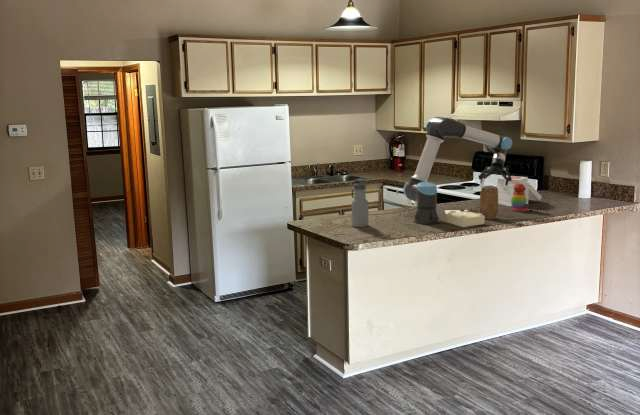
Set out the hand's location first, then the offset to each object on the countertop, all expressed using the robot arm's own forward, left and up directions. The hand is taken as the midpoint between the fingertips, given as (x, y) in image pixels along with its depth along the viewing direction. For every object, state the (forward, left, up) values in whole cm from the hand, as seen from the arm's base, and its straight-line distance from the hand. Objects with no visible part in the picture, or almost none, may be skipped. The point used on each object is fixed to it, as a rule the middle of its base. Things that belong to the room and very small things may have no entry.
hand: (492, 188), depth 383 cm
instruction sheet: (-24, 0, -17) cm, 30 cm away
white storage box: (+8, +49, -17) cm, 52 cm away
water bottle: (-65, -57, -17) cm, 89 cm away
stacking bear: (+13, +23, -17) cm, 31 cm away
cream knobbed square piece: (-10, -27, -17) cm, 34 cm away
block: (0, -9, -17) cm, 20 cm away
